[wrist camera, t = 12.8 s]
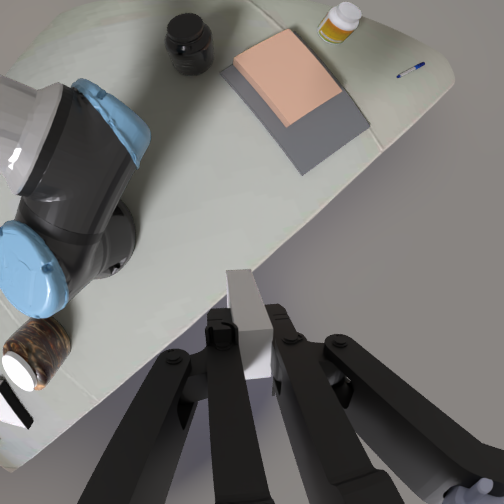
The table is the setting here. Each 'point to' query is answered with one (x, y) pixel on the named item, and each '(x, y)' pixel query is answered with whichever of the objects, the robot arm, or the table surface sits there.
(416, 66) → the ballpoint pen
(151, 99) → the table surface
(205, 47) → the supplement bottle
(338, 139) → the mat
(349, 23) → the supplement bottle
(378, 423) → the robot arm
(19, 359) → the jar
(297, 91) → the tile
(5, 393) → the disc drive
